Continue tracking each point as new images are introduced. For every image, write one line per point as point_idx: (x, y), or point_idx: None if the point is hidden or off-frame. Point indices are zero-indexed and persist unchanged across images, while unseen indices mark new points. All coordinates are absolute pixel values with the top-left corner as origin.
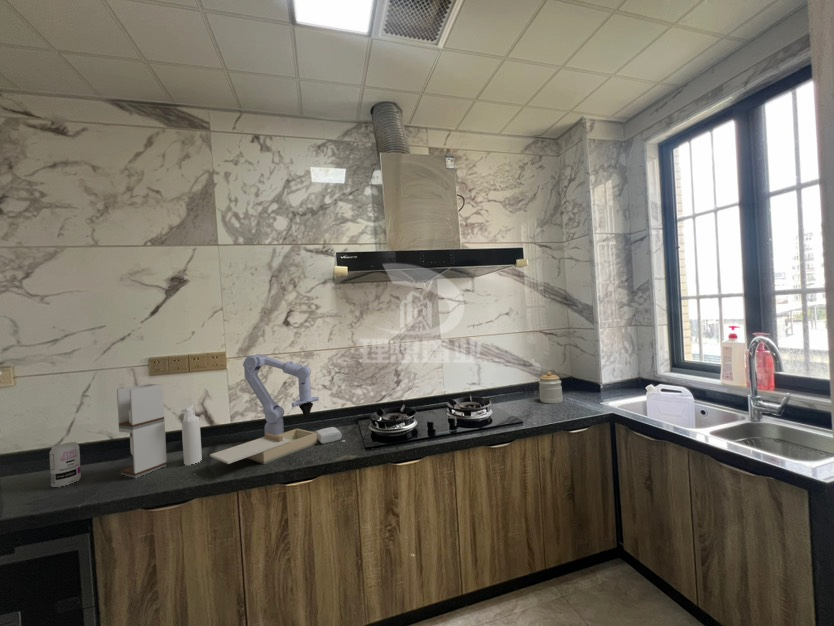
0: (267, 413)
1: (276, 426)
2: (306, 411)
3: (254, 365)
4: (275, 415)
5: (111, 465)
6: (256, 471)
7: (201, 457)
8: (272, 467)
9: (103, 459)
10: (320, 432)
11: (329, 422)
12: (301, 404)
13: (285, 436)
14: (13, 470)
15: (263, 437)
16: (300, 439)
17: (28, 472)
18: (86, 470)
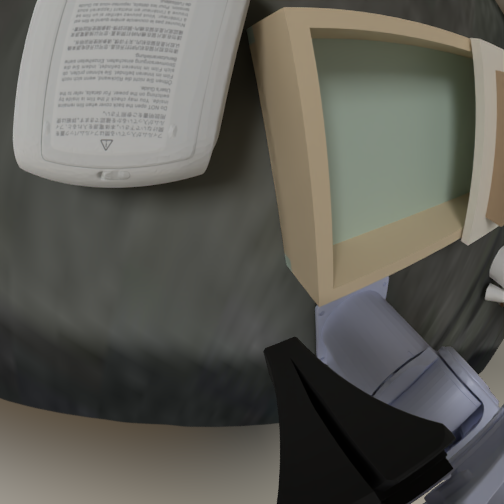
0: (486, 384)
1: (414, 338)
2: (357, 397)
3: None
4: (473, 370)
5: (492, 329)
6: (497, 32)
7: (499, 263)
8: (474, 3)
9: (475, 359)
10: (209, 48)
11: (51, 404)
12: (444, 468)
13: (390, 245)
14: (489, 360)
15: (489, 227)
16: (419, 23)
17: (495, 348)
18: (500, 325)
